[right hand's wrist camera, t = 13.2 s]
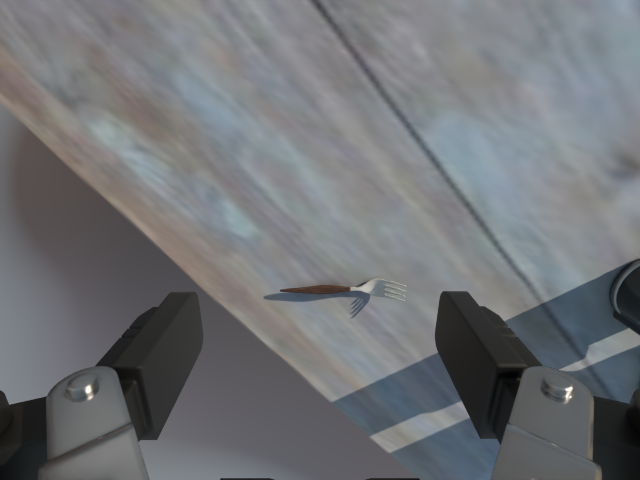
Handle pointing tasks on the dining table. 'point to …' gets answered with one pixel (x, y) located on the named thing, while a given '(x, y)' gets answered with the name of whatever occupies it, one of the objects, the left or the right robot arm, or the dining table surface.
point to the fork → (352, 289)
